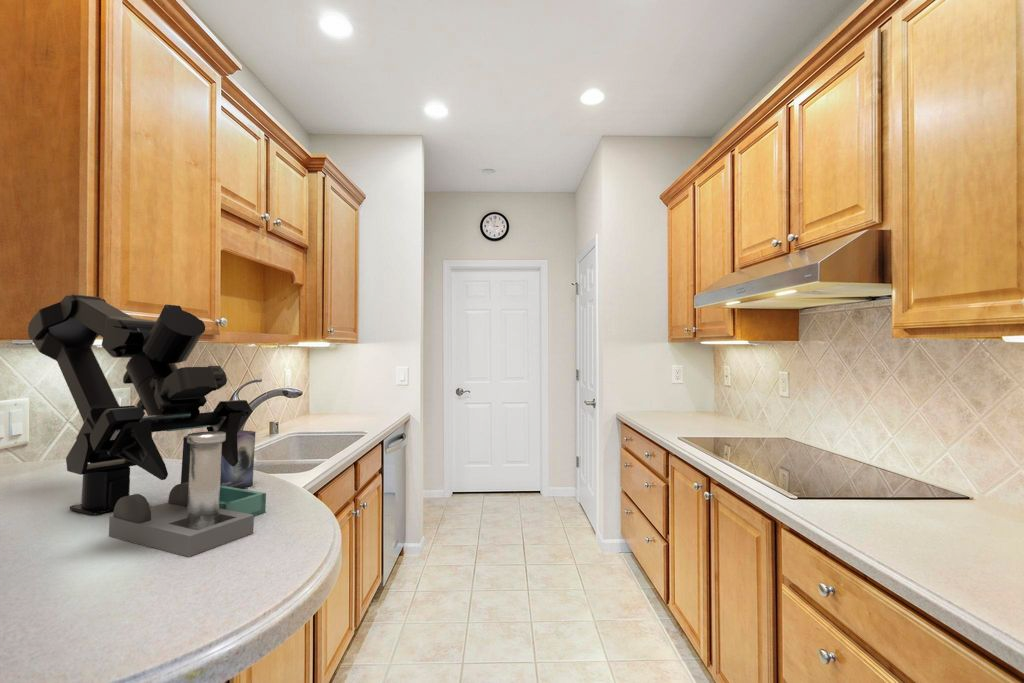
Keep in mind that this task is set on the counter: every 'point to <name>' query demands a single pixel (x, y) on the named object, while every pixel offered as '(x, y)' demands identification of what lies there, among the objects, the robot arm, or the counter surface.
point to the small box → (230, 475)
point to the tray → (242, 500)
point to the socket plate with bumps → (174, 524)
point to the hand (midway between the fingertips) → (202, 470)
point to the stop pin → (204, 478)
